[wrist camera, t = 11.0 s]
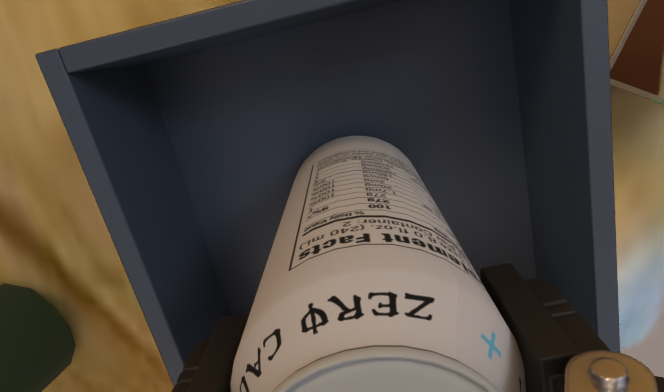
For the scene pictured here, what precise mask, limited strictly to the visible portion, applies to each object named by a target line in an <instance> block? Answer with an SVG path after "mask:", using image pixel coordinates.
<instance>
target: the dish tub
mask: <svg viewBox="0 0 664 392" xmlns="http://www.w3.org/2000/svg"><path fill="white" fill-rule="evenodd" d="M35 56H36V59H37V61H38V64H39V66H40V69H41V71H42V73H43V76H44V78H45V80H46V83H47V85H48V88H49V90H50V92H51V95H52V97H53V100H54V102H55V104H56V107H57V109H58V111H59V114H60V116H61V119H62V121H63V123H64V126H65V128H66V131H67V133H68V135H69V138H70V140H71V142H72V145H73V147H74V150H75V152H76V154H77V157H78V159H79V162H80V164H81V166H82V169H83V171H84V173H85V176H86V178H87V181H88V183H89V185H90V188H91V190H92V193H93V195H94V197H95V200H96V202H97V204H98V207H99V209H100V212H101V214H102V216H103V219H104V221H105V224H106V226H107V228H108V231H109V233H110V235H111V238H112V240H113V243H114V245H115V247H116V250H117V252H118V255H119V257H120V259H121V262H122V264H123V266H124V269H125V271H126V274H127V276H128V278H129V281H130V283H131V286H132V288H133V290H134V293H135V295H136V297H137V300H138V302H139V305H140V307H141V309H142V312H143V314H144V317H145V319H146V321H147V324H148V326H149V328H150V331H151V333H152V336H153V338H154V340H155V343H156V345H157V347H158V350H159V352H160V355H161V357H162V359H163V362H164V364H165V367H166V369H167V371H168V374H169V376H170V378H171V381H172V383H173V386H175V385H177V380H178V377H179V375H180V373H181V372H183V367H184V365H185V363H186V361H187V359H188V357H189V355H190V354H191V352H192V351H193V350H194V349H195V348H196V347H197V346H198V345H199V344H200V343H201V342H202V341H203V340H206V339H211V337H212V334H213V332H214V330H215V328H216V325H217V323H218V321H219V319H220V318H222V317H227V316H232V315H237V314H242V313H249V314H250V311H251V308H252V305H253V302H254V299H255V296H256V293H257V290H258V287H259V284H260V281H261V278H262V276H263V273H264V270H265V267H266V264H267V261H268V258H269V255H270V252H271V249H272V246H273V243H274V240H275V237H276V234H277V231H278V228H279V225H280V222H281V219H282V216H283V213H284V210H285V207H286V204H287V201H288V198H289V195H290V192H291V189H292V186H293V183H294V180H295V178H296V175H297V173H298V170H299V169H300V167H301V166H302V164H303V163H304V161H305V160H306V159H307V158H308V157H309V156H310V155H311V154H312V153H313V152H314V151H315V150H316V149H318V148H319V147H321V146H322V145H324V144H325V143H328V142H330V141H332V140H335V139H337V138H342V137H347V136H368V137H373V138H378V139H380V140H383V141H385V142H387V143H390V144H391V145H393V146H394V147H396V148H397V149H399V150H400V151H401V152H402V153H403V154H404V155H405V156H406V157H407V158H408V159H409V160H410V162H411V163H412V165H413V166H414V168H415V170H416V171H417V173H418V175H419V176H420V178H421V180H422V181H423V183H424V185H425V186H426V188H427V190H428V192H429V193H430V195H431V197H432V198H433V200H434V202H435V203H436V205H437V207H438V209H439V210H440V212H441V214H442V215H443V217H444V219H445V220H446V222H447V224H448V226H449V227H450V229H451V231H452V232H453V234H454V236H455V237H456V239H457V241H458V242H459V244H460V246H461V248H462V249H463V251H464V253H465V254H466V256H467V258H468V259H469V261H470V263H471V265H472V266H473V268H474V270H475V271H476V273H477V275H478V276H479V278H480V269H481V268H484V267H489V266H495V265H500V264H505V263H511V264H512V265H513V266H514V267H515V269H516V270H517V271H518V273H519V274H520V275H521V276H522V278H523V279H524V280H528V279H534V278H539V279H541V280H543V281H545V282H547V283H549V284H551V285H553V286H554V287H556V288H557V289H558V290H559V292H560V293H561V294H562V295H563V296H564V297H565V298H566V300H567V302H569V303H570V304H571V305H572V307H573V308H574V309H575V310H576V313H579V315H580V316H581V317H582V318H583V319H584V320H585V321H586V323H587V324H588V325H589V326H590V327H591V328H592V329H593V331H594V332H595V333H596V334H597V335H598V336H599V337H600V339H601V340H602V341H603V342H604V343H605V344H606V345H607V347H608V348H609V349H610V350H611V351H614V352H618V353H620V338H619V310H618V283H617V255H616V228H615V200H614V173H613V146H612V118H611V91H610V63H609V36H608V8H607V0H243V1H239V2H235V3H231V4H227V5H223V6H220V7H216V8H212V9H208V10H204V11H200V12H196V13H192V14H189V15H185V16H181V17H177V18H173V19H169V20H165V21H161V22H158V23H154V24H150V25H146V26H142V27H138V28H134V29H130V30H127V31H123V32H119V33H115V34H111V35H107V36H103V37H99V38H96V39H92V40H88V41H84V42H80V43H76V44H72V45H68V46H65V47H61V48H60V49H53V50H49V51H45V52H41V53H37V54H36V55H35ZM480 280H481V279H480Z"/></svg>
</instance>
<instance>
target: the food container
mask: <svg viewBox="0 0 664 392" xmlns="http://www.w3.org/2000/svg"><path fill="white" fill-rule="evenodd" d="M609 63H610V85H612V86H615V87H617V88H620V89H623V90H625V91H628V92H631V93H633V94H636V95H639V96H642V97H644V98H647V99H650V100H652V101H655V102H658V103H660V104H663V105H664V0H641V1H640V3H639V5H638V7H637V9H636V10H635V12H634V14H633V16H632V18H631V20H630V22H629V24H628V26H627V28H626V30H625V32H624V34H623V36H622V37H621V39H620V41H619V43H618V45H617V47H616V49H615V51H614V53H613V55H612V57H611V59H610V61H609Z"/></svg>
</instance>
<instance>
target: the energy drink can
mask: <svg viewBox="0 0 664 392" xmlns="http://www.w3.org/2000/svg"><path fill="white" fill-rule="evenodd" d="M230 386H231V392H526V382H525V371H524V364H523V360H522V356H521V353H520V350H519V347H518V344H517V341H516V339H515V338H514V336H513V334H512V332H511V331H510V329H509V327H508V326H507V324H506V322H505V321H504V319H503V317H502V316H501V314H500V312H499V310H498V309H497V307H496V305H495V304H494V302H493V300H492V299H491V297H490V295H489V293H488V292H487V290H486V288H485V287H484V285H483V283H482V282H481V280H480V278H479V276H478V275H477V273H476V271H475V270H474V268H473V266H472V265H471V263H470V261H469V259H468V258H467V256H466V254H465V253H464V251H463V249H462V248H461V246H460V244H459V242H458V241H457V239H456V237H455V236H454V234H453V232H452V231H451V229H450V227H449V226H448V224H447V222H446V220H445V219H444V217H443V215H442V214H441V212H440V210H439V209H438V207H437V205H436V203H435V202H434V200H433V198H432V197H431V195H430V193H429V192H428V190H427V188H426V186H425V185H424V183H423V181H422V180H421V178H420V176H419V175H418V173H417V171H416V170H415V168H414V166H413V165H412V163H411V162H410V160H409V159H408V158H407V157H406V156H405V155H404V154H403V153H402V152H401V151H400V150H399V149H397V148H396V147H394V146H393V145H391V144H390V143H387V142H385V141H383V140H380V139H378V138H373V137H368V136H347V137H342V138H337V139H335V140H332V141H330V142H328V143H325V144H324V145H322V146H321V147H319V148H318V149H316V150H315V151H314V152H313V153H312V154H311V155H310V156H309V157H308V158H307V159H306V160H305V161H304V163H303V164H302V166H301V167H300V169H299V170H298V173H297V175H296V178H295V180H294V183H293V186H292V189H291V192H290V195H289V198H288V201H287V204H286V207H285V210H284V213H283V216H282V219H281V222H280V225H279V228H278V231H277V234H276V237H275V240H274V243H273V246H272V249H271V252H270V255H269V258H268V261H267V264H266V267H265V270H264V273H263V276H262V278H261V281H260V284H259V287H258V290H257V293H256V296H255V299H254V302H253V305H252V308H251V311H250V314H249V317H248V320H247V323H246V326H245V329H244V332H243V335H242V338H241V341H240V344H239V347H238V350H237V353H236V356H235V359H234V364H233V370H232V377H231V383H230Z"/></svg>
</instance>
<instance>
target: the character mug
mask: <svg viewBox="0 0 664 392" xmlns="http://www.w3.org/2000/svg"><path fill="white" fill-rule="evenodd" d="M74 349H75V343H74V340H73V337H72V334H71V331H70V328H69V325H68V324H67V323H66V322H65V320H64V319H63V318H62V317H61V316H60V314H59V313H58V312H57V311H56V309H55V308H54V307H53V306H52V305H51V304H50V303H49V302H47V301H46V300H45V299H43V298H42V297H41V296H40V295H38V294H37V293H36V292H35V291H33V290H32V289H29V288H24V287H19V286H14V285H9V284H2V285H0V392H41V391H42V390H43V389H45V388H46V387H47V386H48V385H49V384H50V383H51V382H52V381H53V380H54V379H55V378H56V377H57V376H58V375H59V374H60V373H61V372H62V371H63V370H64V369H65V368H66V367H68V366H69V365H70V364H71V361H72V357H73V353H74Z"/></svg>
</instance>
